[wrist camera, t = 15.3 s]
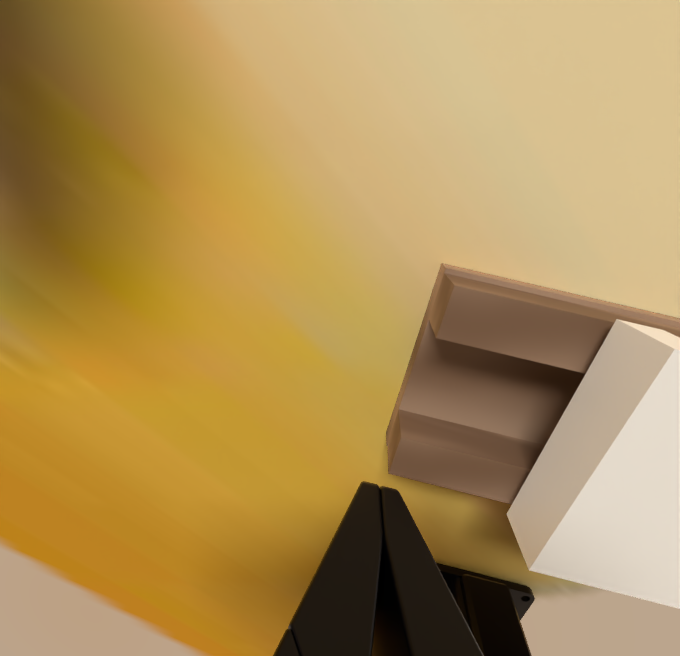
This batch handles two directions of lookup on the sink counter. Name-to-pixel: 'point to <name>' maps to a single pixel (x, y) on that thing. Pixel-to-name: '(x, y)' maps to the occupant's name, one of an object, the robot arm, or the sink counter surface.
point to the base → (495, 379)
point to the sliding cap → (612, 474)
